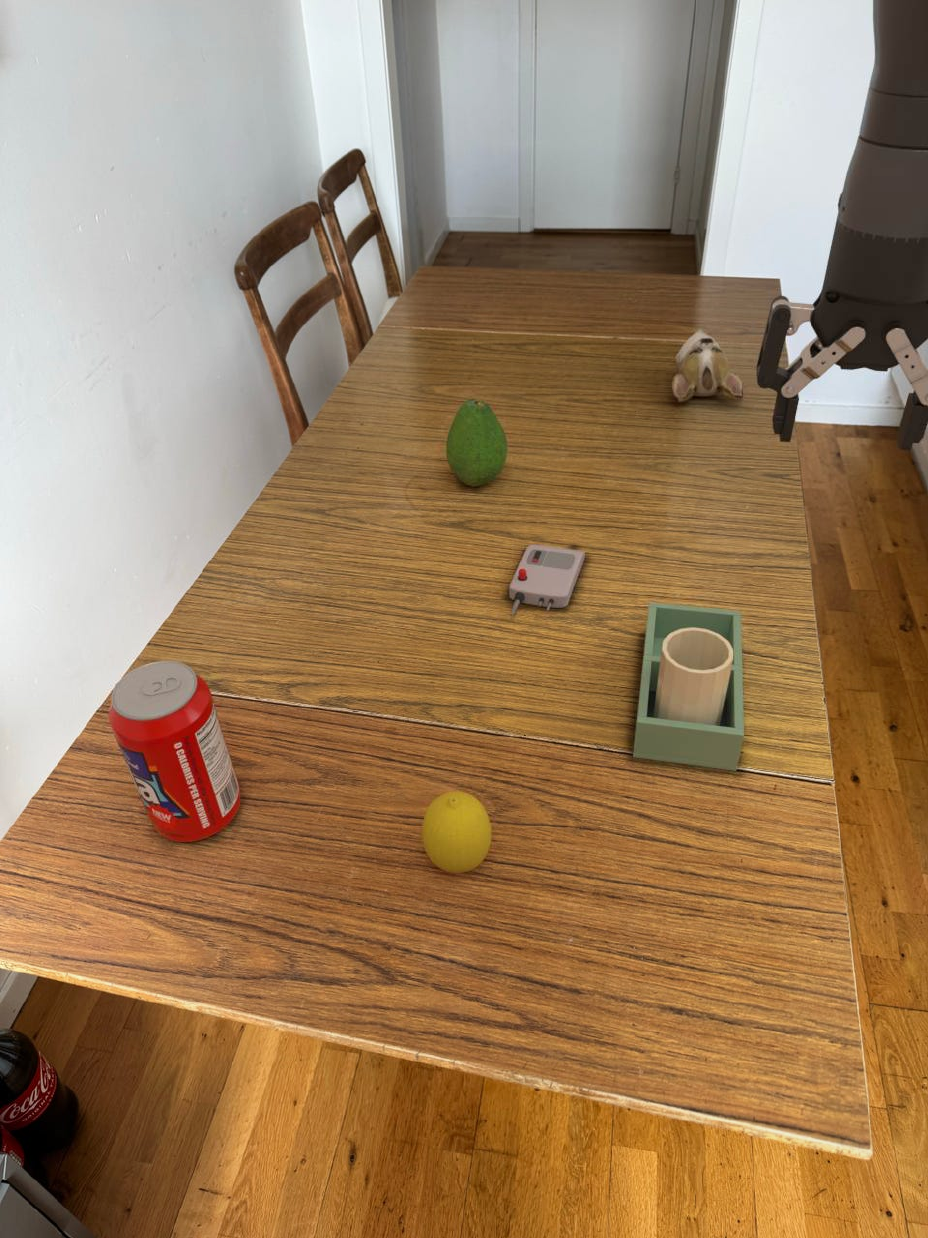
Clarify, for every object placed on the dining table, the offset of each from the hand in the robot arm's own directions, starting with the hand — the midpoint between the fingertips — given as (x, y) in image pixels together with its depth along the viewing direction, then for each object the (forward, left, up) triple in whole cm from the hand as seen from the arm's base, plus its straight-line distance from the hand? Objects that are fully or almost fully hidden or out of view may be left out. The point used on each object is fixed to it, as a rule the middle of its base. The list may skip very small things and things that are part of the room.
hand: (843, 441), depth 68 cm
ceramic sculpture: (+36, -59, -28) cm, 75 cm away
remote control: (+29, -4, -28) cm, 41 cm away
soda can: (+36, +41, -28) cm, 62 cm away
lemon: (+14, +32, -28) cm, 45 cm away
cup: (+6, +8, -27) cm, 29 cm away
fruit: (+49, -18, -28) cm, 59 cm away
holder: (+8, +4, -28) cm, 29 cm away
